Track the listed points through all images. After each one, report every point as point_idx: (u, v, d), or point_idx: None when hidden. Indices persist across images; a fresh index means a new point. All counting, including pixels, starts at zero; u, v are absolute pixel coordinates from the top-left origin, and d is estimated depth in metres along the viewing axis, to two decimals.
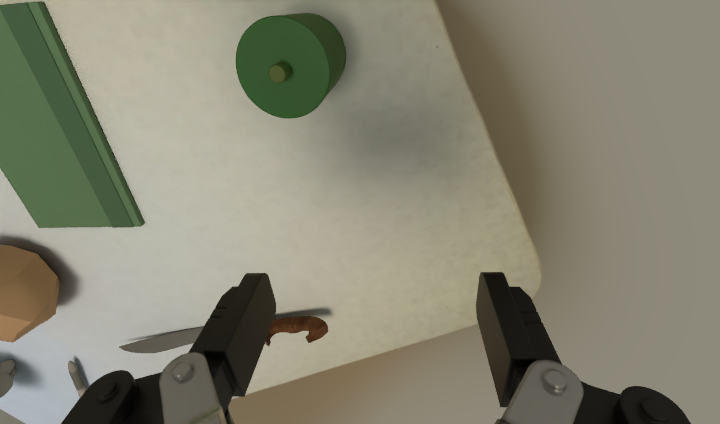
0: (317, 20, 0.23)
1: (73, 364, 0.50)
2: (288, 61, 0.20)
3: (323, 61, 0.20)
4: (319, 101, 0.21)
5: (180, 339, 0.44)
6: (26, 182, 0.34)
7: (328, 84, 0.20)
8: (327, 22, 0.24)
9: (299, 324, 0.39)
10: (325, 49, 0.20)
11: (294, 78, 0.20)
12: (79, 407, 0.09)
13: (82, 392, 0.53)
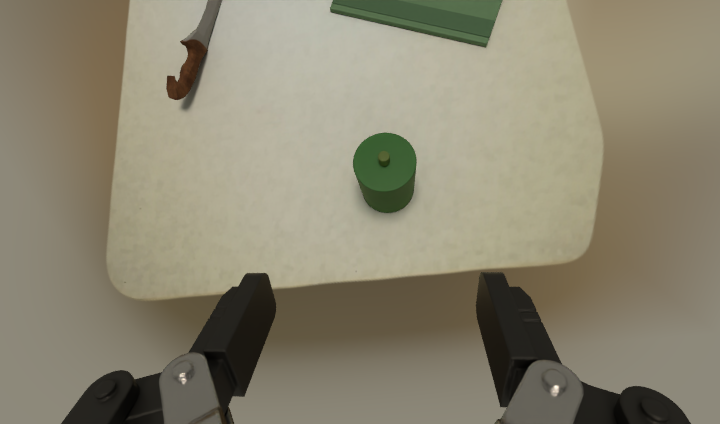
0: (403, 199, 0.34)
1: None
2: (387, 167, 0.30)
3: (378, 188, 0.30)
4: (357, 174, 0.31)
5: None
6: None
7: (364, 185, 0.30)
8: (400, 206, 0.36)
9: (187, 77, 0.42)
10: (384, 192, 0.30)
11: (377, 166, 0.31)
12: (79, 407, 0.09)
13: None
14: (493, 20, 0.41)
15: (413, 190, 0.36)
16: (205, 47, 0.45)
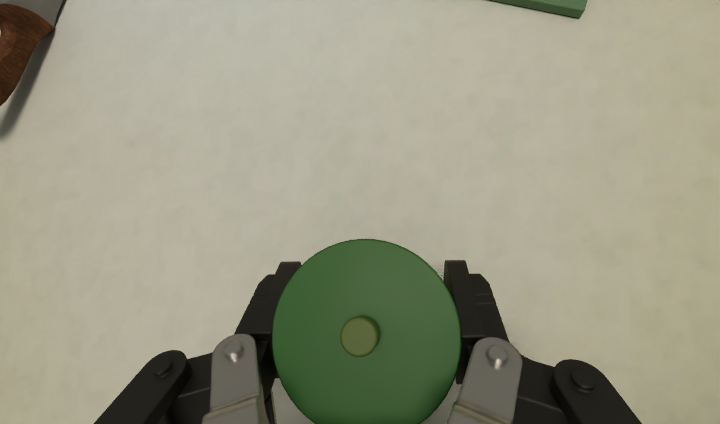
0: None
1: None
2: (372, 353, 0.10)
3: None
4: (280, 373, 0.10)
5: None
6: None
7: (301, 409, 0.10)
8: None
9: None
10: None
11: (341, 347, 0.10)
12: (138, 379, 0.09)
13: None
14: None
15: None
16: (49, 22, 0.25)
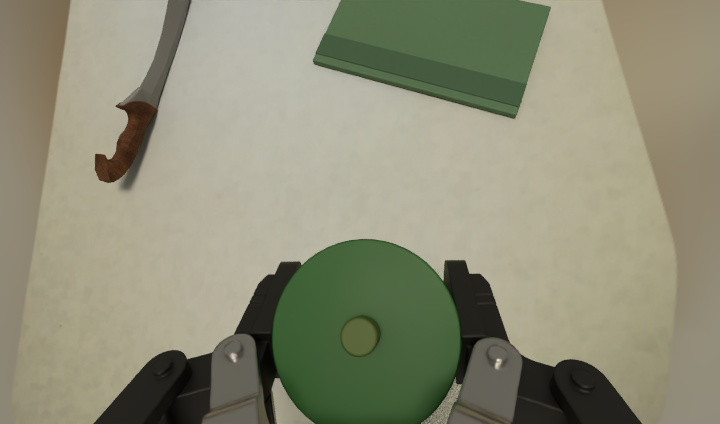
0: None
1: None
2: (372, 353, 0.10)
3: None
4: (280, 373, 0.10)
5: (175, 9, 0.37)
6: None
7: (301, 409, 0.10)
8: None
9: (125, 152, 0.32)
10: None
11: (342, 348, 0.10)
12: (138, 379, 0.09)
13: None
14: (524, 83, 0.31)
15: None
16: (154, 106, 0.35)
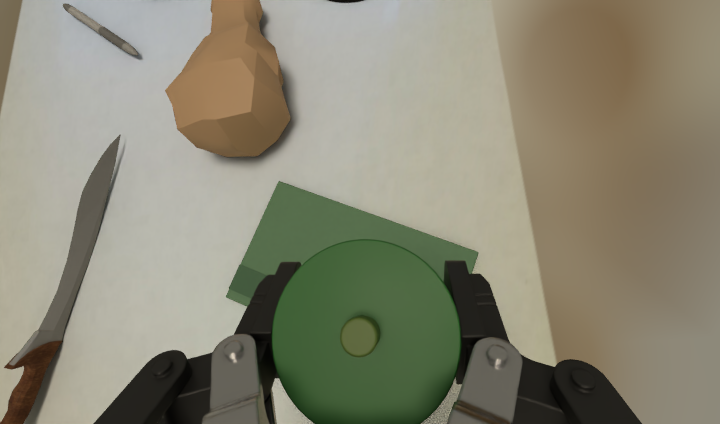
0: None
1: None
2: (372, 353, 0.10)
3: None
4: (280, 373, 0.10)
5: (86, 225, 0.34)
6: (320, 216, 0.33)
7: (301, 409, 0.10)
8: None
9: (17, 410, 0.30)
10: None
11: (341, 348, 0.10)
12: (138, 379, 0.09)
13: (94, 28, 0.41)
14: None
15: None
16: (59, 338, 0.33)
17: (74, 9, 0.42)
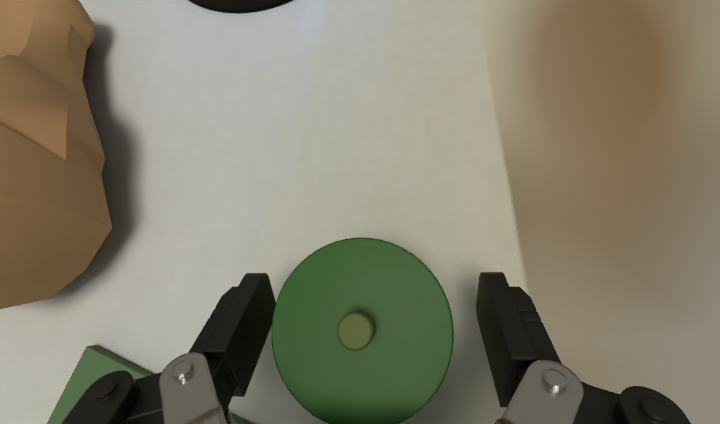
0: None
1: None
2: (368, 347, 0.10)
3: (339, 416, 0.10)
4: (280, 366, 0.11)
5: None
6: None
7: (299, 401, 0.10)
8: None
9: None
10: None
11: (338, 342, 0.10)
12: (79, 407, 0.09)
13: None
14: None
15: None
16: None
17: None
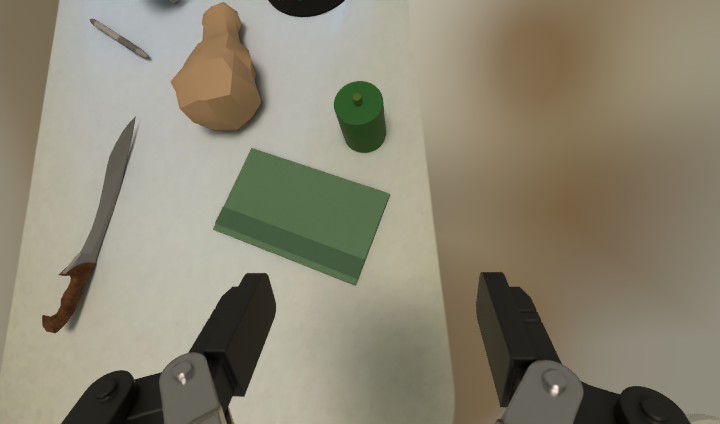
0: (375, 137, 0.43)
1: (143, 56, 0.53)
2: (360, 106, 0.39)
3: (353, 122, 0.39)
4: (336, 112, 0.39)
5: (112, 181, 0.47)
6: (280, 172, 0.46)
7: (342, 120, 0.39)
8: (374, 146, 0.45)
9: (67, 306, 0.43)
10: (357, 125, 0.39)
11: (352, 106, 0.39)
12: (79, 407, 0.09)
13: (114, 37, 0.54)
14: (363, 259, 0.42)
15: (385, 133, 0.45)
16: (93, 261, 0.46)
17: (98, 23, 0.55)
